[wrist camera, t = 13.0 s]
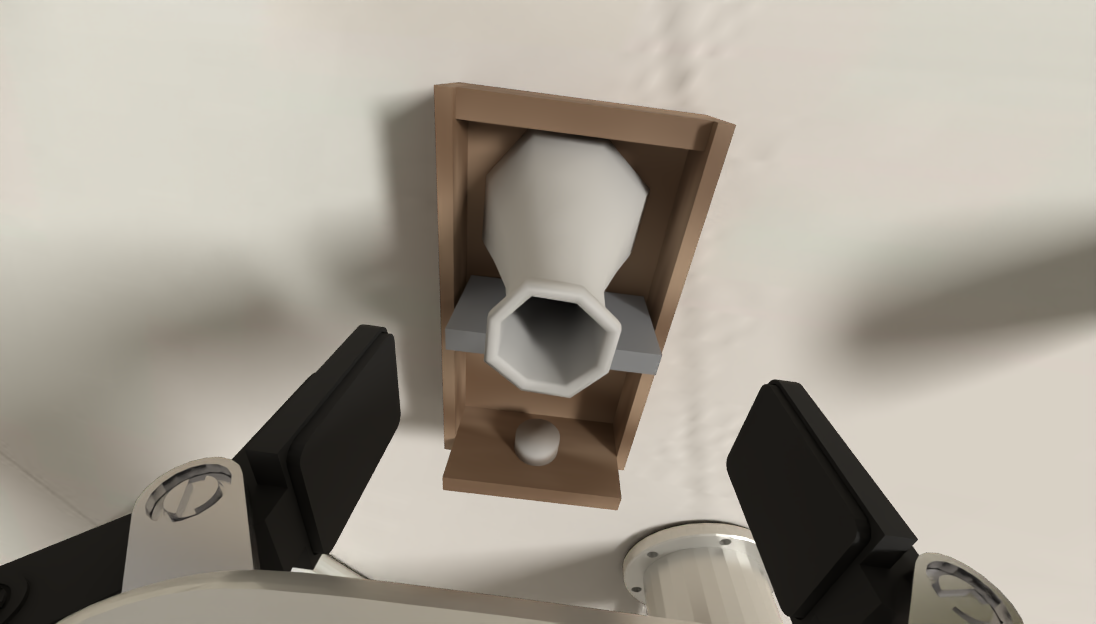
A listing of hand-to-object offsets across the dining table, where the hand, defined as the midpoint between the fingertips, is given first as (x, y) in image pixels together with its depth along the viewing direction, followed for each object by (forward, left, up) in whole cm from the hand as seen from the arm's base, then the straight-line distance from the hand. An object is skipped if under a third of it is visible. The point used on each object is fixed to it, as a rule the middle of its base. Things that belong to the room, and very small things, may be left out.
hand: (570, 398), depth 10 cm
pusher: (-2, 0, -10) cm, 10 cm away
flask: (+2, +1, -10) cm, 10 cm away
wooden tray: (-3, 0, -11) cm, 11 cm away
